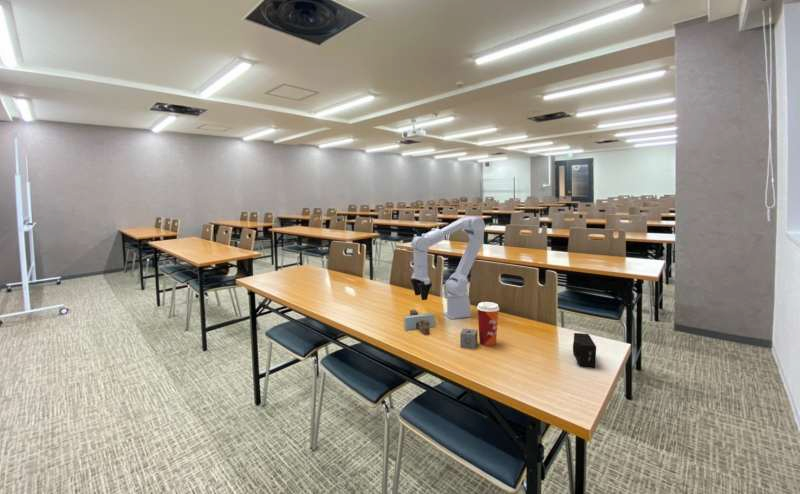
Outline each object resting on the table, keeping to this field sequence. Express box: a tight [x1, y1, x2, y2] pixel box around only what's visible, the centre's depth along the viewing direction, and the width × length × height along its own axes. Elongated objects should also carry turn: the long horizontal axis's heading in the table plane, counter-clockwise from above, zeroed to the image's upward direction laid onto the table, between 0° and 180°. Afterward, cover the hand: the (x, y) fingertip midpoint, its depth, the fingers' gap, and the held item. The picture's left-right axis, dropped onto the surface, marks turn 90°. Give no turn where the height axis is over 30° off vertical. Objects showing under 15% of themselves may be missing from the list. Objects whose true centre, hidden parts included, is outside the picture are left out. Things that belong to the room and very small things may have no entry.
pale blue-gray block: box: [403, 312, 435, 331], centre depth 145 cm, size 12×2×5 cm, turn 108°
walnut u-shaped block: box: [409, 309, 430, 336], centre depth 145 cm, size 16×2×5 cm, turn 18°
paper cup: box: [476, 301, 500, 347], centre depth 128 cm, size 8×8×14 cm
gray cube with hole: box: [459, 328, 478, 350], centre depth 127 cm, size 5×5×5 cm
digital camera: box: [572, 332, 597, 369], centre depth 113 cm, size 10×5×7 cm, turn 164°
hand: (421, 297), depth 152 cm, fingers open, 7 cm apart
